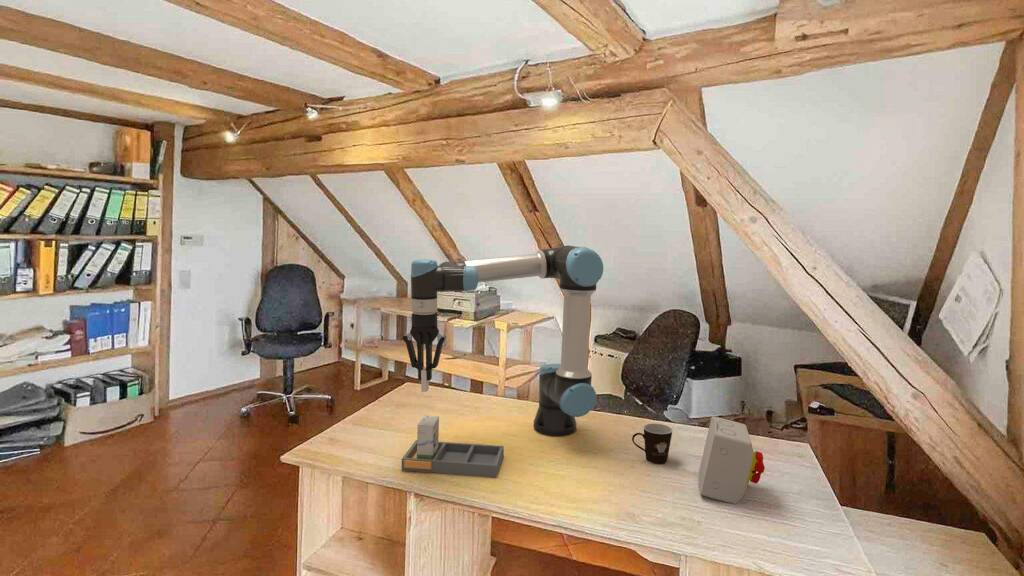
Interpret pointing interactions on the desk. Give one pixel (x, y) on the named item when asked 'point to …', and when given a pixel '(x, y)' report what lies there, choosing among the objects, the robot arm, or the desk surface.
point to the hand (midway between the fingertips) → (425, 390)
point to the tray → (457, 459)
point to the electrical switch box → (728, 461)
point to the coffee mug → (656, 442)
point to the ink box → (427, 437)
